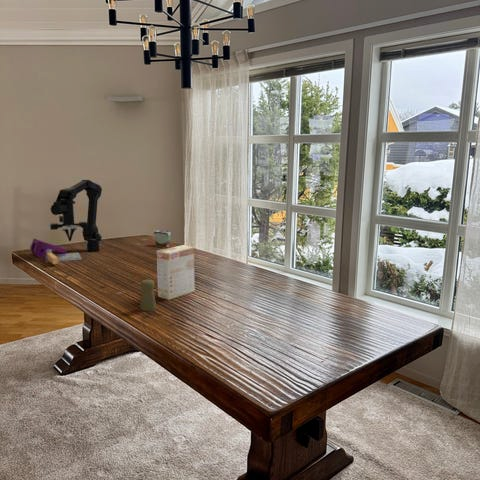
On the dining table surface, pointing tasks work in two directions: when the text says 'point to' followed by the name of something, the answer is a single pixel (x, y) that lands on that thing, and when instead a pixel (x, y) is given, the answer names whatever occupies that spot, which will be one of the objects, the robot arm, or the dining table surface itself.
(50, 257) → the swing arm
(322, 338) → the dining table surface
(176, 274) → the coffeecake box
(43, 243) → the mounting bracket
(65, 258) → the chassis plate
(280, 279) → the dining table surface
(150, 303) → the olive green upright piece
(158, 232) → the food container
